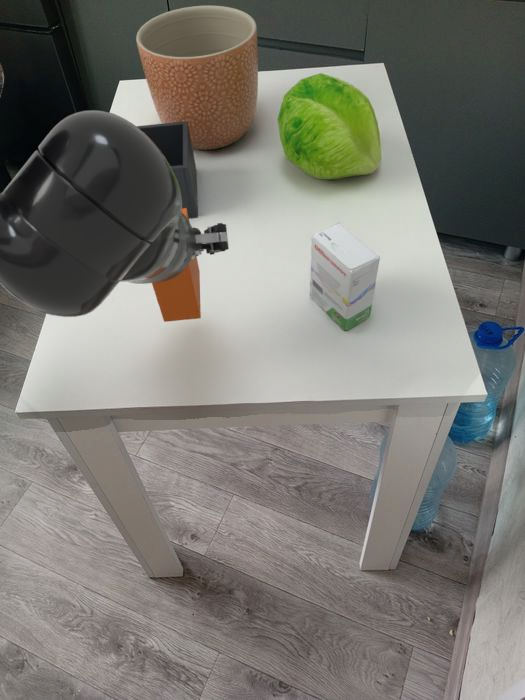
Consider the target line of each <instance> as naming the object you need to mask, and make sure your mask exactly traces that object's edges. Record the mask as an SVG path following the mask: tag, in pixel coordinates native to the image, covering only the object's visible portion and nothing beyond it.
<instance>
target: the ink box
mask: <svg viewBox="0 0 525 700" xmlns="http://www.w3.org/2000/svg"><path fill="white" fill-rule="evenodd" d="M310 247H311V249H310V276H309V277H310V281H309V296H310V297H311V299H312V300H313V301H315V303H316V304H317V305H318V306H319V307H320V308H321V309H322V310H323V311H324V312H325V313H326V314H327V315H328V316H329V317H330V318H331V319H332V320H333V321H334V322H335V323H336V324H337V325H338V326H339V327H340V328H341V329H342V330H343V331H346V332H347V331H349V330H350V329H352V328H354V327H355V326H357V325H359V324H361V323H362V322H364V321H365V320H367V319H368V318H370V317H371V313H372V306H373V301H374V295H375V289H376V284H377V283H376V282H377V277H378V272H379V265H380V260H381V256H380V255H379V254H378V253H377V252H376V251H374V250H373V249H372V248H371V247H369V246H368V245H367V244H366V243H365V242H364V241H362V240H361V239H360V238H359V237H358V236H357V235H355V234H354V233H353V232H352V231H351V230H350V229H349V228H347V227H346V226H345V225H344V224H343V223H342V222H337V223H335V224H333V225H331V226H328V227H327V228H324V229H323V230H320V231H318V232H316V233H314V234H312V235H311V245H310Z"/></svg>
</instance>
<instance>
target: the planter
mask: <svg viewBox="0 0 525 700" xmlns="http://www.w3.org/2000/svg"><path fill="white" fill-rule="evenodd" d="M257 29H258V28H257V23H256V20H255V19H254V18H253V16H251V15H250V14H249V13H248V12H245V11H242V10H241V9H238V8H235V7H231V6H230V7H229V6H223V5H194V6H186V7H181V8H177V9H173V10H170V11H167V12H163V13H161V14H159V15H157V16H154V17H153V18H151V19H150V20H147V21H146V22H145V23H144V24H143V25H141V27H140V28H139V29H138V31H137V33H136V35H135V41H136V46H137V50H138V54H139V57H140V58H139V59H140V62H141V66H142V69H143V72H144V76H145V79H146V84H147V86H148V90H149V93H150V96H151V100H152V103H153V105H154V108H155V111H156V113H157V116H158V118H159V121H160V124H164V123H174V122H183V121H188V127H189V132H190V138H191V143H192V149H196V150H215V149H216V150H217V149H221V148H224V147H227V146H229V145H232V144H233V143H235V142H236V141H238V140H239V139H240V138H242V137H243V136H244V135H245V134H246V133H247V132H248V130H249V129H250V127H251V126H252V125H253V122H254V120H255V117H256V113H257V104H258V95H259V94H258V93H259V91H258V90H259V51H258V50H259V48H258V30H257Z"/></svg>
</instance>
